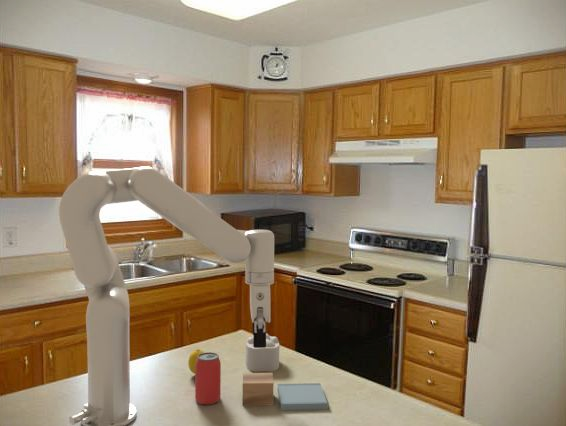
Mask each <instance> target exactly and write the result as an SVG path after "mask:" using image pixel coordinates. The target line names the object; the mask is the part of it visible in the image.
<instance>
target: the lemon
mask: <svg viewBox="0 0 566 426" xmlns="http://www.w3.org/2000/svg"><path fill="white" fill-rule="evenodd" d="M202 353H205V351H204V350H201V349H200V348H196V349H195V350H194V351H192V352H191V353H190V355H189V357H188V368H189V370H190V372H192V374H195V365H196V361H197V359H198V358H197V357H198V355H199V354H202Z"/></svg>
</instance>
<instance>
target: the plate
mask: <svg viewBox="0 0 566 426" xmlns="http://www.w3.org/2000/svg"><path fill="white" fill-rule="evenodd" d="M277 392H278V400H279V406H280V411H302V410H303V411H305V410H306V411H307V410H314V411H315V410H328V401H327V398H326V395H325V392H324V390H323V387H322V385H321V383H320V382H319V383H318V382H315V383H311V382H310V383H309V382H308V383H307V382H306V383H305V382H304V383H277Z"/></svg>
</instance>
